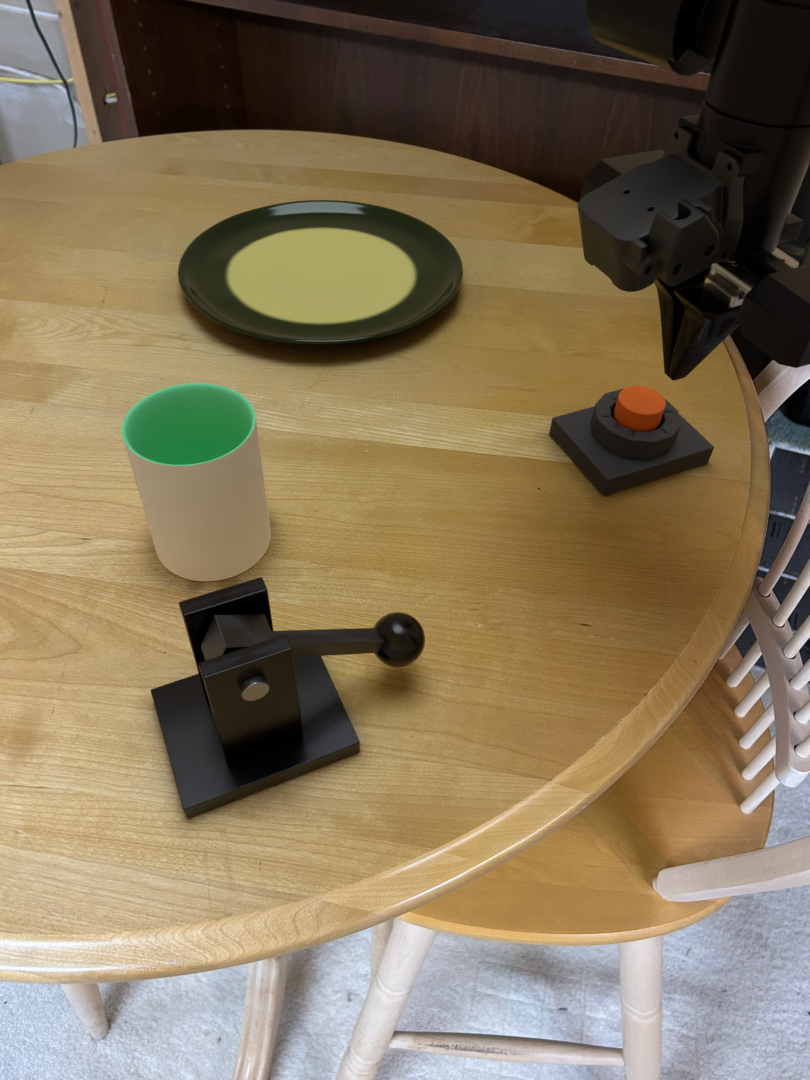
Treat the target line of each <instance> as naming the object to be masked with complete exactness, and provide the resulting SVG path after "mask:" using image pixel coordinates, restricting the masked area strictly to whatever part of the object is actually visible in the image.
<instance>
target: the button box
mask: <svg viewBox="0 0 810 1080" xmlns="http://www.w3.org/2000/svg"><path fill="white" fill-rule="evenodd" d="M623 389H624V388H620V389H616V390H612V391H609V392H606V393H604V394H603V395H602V396H601V397H600V398H599V399H598V400H597V401H596V402H595V404H594V406H590V407H586V408H583V409H579V410H576V411H572V412H568V413H564V414H561V415H558V416H553V417H552V418H551V423H550V428H549V435H550V437H551V438H552V439H553V440H554V441H555V442H556V444H557V445H558V446H559V447H560V449H562V450H563V451H564V452H565V454H566V455H567V456H568V457H569V458H570V460H572V462H573V463H574V464H575V466H577V468H578V469H579V470H580V471H581V472H582V473H583V474H584V475H585V476H586V478H587V479H588V480H589V482H591V484H592V485H593V486H594V487H595V488H596V490H598V491H599V493H600V494H601V495H602V497H603V496H607V495H611V494H614V493H618V492H621V491H624V490H627V489H630V488H634V487H636V486H640V485H644V484H646V483H649V482H653V481H656V480H658V479H662V478H665V477H668V476H671V475H674V474H677V473H681V472H684V471H688V470H691V469H693V468H697V467H699V466H703V465H706V464H709V461H710V460H711V457H712V454H713V452H714V449H715V446H714V445H713V444H712V443H711V442H710V441H709V440H707V438H705V436H703V434H701V433H700V432H699V431H698V429H696V428H695V427H694V426H693V425H691V423H690V422H688V420H686V418H684V417H683V416H682V415H681V414H680V413H679V410H678V409H677V408H676V407H674V405H672V403H670V401H668V400H667V399H666V398H664V399H665V401H666V406H665V409H664V412H663V415H662V418H661V421H660V424H659V426H658V427H657V428H655V429H654V430H651V431H648V432H644V431H633V430H631V429H629V428H626V427H624V426H622V425H620V424H619V423H618V422H617V421H616V420H615V418H614V410H615V406H616V403H617V399H618V395H619V393H620V392H621V391H622V390H623Z"/></svg>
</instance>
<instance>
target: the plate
mask: <svg viewBox="0 0 810 1080" xmlns="http://www.w3.org/2000/svg"><path fill="white" fill-rule="evenodd" d="M463 276H464V266H463V262H462V258H461V256H460V254H459V252H458V250H457V248H456V247H455V246H454V244H453V243H452V242H451V241H450V240H449V239H448V237H447V236H445V235H444V234H443V233H442V232H441V231H439V230H438V229H436V228H435V227H433V226H432V225H430V224H428V223H427V222H425V221H423V220H421V219H419V218H417V217H415V216H412V215H411V214H407V213H405V212H402V211H400V210H399V211H398V210H396V209H393V208H389V207H385V206H381V205H376V204H371V203H365V202H359V201H349V200H340V199H339V200H338V199H337V200H336V199H310V200H309V199H308V200H296V201H295V200H294V201H286V202H280V203H275V204H269V205H265V206H261V207H257V208H253V209H249V210H245V211H242V212H240V213H237V214H234V215H231V216H229V217H227V218H224V219H223V220H221V221H219V222H216V223H215V224H213V225H211V226H210V227H208V228H206V229H205V230H204V231H202V232H201V233H200V234H198V235H197V236H196V237H195V238H194V239H192V241H191V242H190V243H189V244H188V246H187V247H186V248H185V249H184V251H183V253H182V254H181V257H180V259H179V263H178V268H177V280H178V284H179V286H180V289H181V291H182V292H183V294H184V296H185V297H186V298H187V300H188V301H189V302H190V303H191V305H192V306H193V307H194V308H195V309H196V310H197V311H199V312H200V313H201V314H202V315H204V316H205V317H207V318H208V319H210V320H211V321H213V322H215V323H216V324H218V325H220V326H222V327H224V328H227V329H230V330H231V331H235V332H236V333H240V334H243V335H246V336H249V337H252V338H253V337H254V338H257V339H262V340H266V341H272V342H278V343H288V344H298V345H299V344H301V345H302V344H303V345H339V344H340V345H341V344H352V343H359V342H365V341H371V340H376V339H379V338H384V337H388V336H393V335H395V334H398V333H400V332H404V331H406V330H409V329H411V328H414V327H416V326H418V325H419V324H421V323H423V322H425V321H427V320H428V319H430V318H431V317H433V316H434V315H435V314H436V313H438V312H439V311H440V310H441V309H443V308H444V307H445V306H447V305H448V304H449V302H451V301H452V299H454V298H455V296H456V294H457V293H458V292H459V289H460V288H461V285H462V281H463V278H464V277H463Z"/></svg>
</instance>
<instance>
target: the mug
mask: <svg viewBox="0 0 810 1080" xmlns="http://www.w3.org/2000/svg"><path fill="white" fill-rule="evenodd" d="M121 437H122V440H123V444H124V447H125V450H126V453H127V457H128V461H129V464H130V467H131V470H132V474H133V477H134V481H135V485H136V488H137V492H138V495H139V498H140V502H141V505H142V508H143V512H144V516H145V519H146V522H147V526H148V530H149V533H150V536H151V540H152V543H153V547H154V550H155V553H156V556H157V558H158V560H159V562H160V563H161V564H162V566H163V567H164V568H165V569H166V570H168V571H169V572H170V573H171V574H173V575H176V576H177V577H180V578H182V579H185V580H189V581H195V582H217V581H222V580H226V579H230V578H233V577H236V576H239V575H241V574H243V573H245V572H246V571H249V570H250V569H251V568H252V567H254V566H255V565H256V564H257V563H259V562H260V560H262V558H263V557H264V555H265V554H266V552H267V551H268V549H269V547H270V544H271V540H272V529H271V522H270V514H269V513H270V512H269V507H268V500H267V492H266V485H265V476H264V469H263V462H262V455H261V445H260V438H259V431H258V424H257V416H256V411H255V408H254V406H253V405H252V403H251V402H250V400H249V399H248V398H246V397H245V396H244V395H243V394H241V393H240V392H238V391H236V390H234V389H232V388H229V387H227V386H223V385H219V384H215V383H206V382H190V383H181V384H175V385H171V386H168V387H165V388H162V389H159V390H156V391H154V392H152V393H150V394H147V395H146V396H144V397H143V398H142V399H140V400H139V401H138V402H136V403H135V404H134V405H133V406H132V407H131V408H129V411H128V412H127V413H126V414H125V416H124V419H123V421H122V424H121Z"/></svg>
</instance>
